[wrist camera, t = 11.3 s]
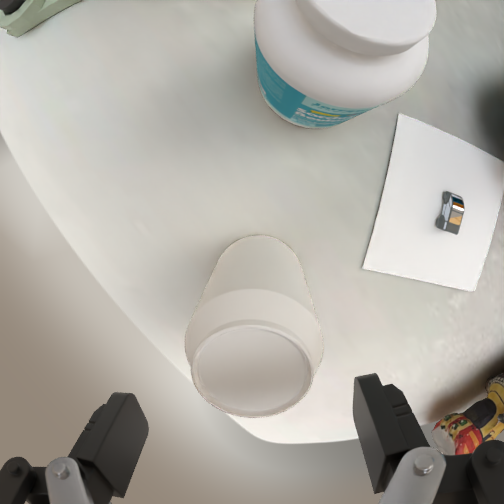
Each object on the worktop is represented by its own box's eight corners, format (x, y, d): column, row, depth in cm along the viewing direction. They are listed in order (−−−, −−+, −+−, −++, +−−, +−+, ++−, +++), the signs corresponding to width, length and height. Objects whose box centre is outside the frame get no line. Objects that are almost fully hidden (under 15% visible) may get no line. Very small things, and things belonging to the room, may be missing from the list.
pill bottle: (288, 147, 20) (326, 125, 8) (239, 59, 19) (204, -56, 6) (380, 107, 19) (502, 61, 6) (330, 22, 17) (389, -92, 5)
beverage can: (311, 244, 22) (354, 329, 11) (287, 318, 24) (299, 436, 13) (227, 222, 22) (186, 289, 11) (209, 299, 24) (168, 408, 12)
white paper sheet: (508, 164, 19) (518, 165, 18) (473, 292, 23) (482, 298, 21) (399, 112, 19) (407, 110, 18) (362, 268, 22) (368, 275, 21)
